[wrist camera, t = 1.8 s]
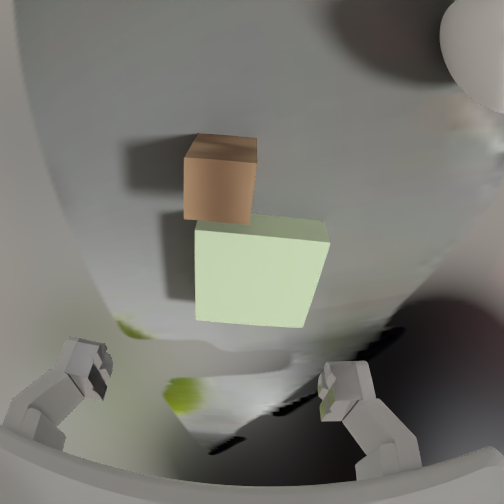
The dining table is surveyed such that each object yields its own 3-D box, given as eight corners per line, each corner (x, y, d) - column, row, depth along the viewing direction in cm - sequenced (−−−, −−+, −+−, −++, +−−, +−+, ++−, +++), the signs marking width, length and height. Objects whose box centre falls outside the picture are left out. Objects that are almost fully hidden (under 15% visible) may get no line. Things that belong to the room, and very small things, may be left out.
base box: (200, 294, 37) (196, 319, 34) (201, 206, 30) (194, 229, 27) (299, 302, 38) (302, 327, 35) (322, 219, 31) (330, 242, 28)
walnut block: (196, 185, 28) (183, 219, 24) (198, 133, 25) (184, 157, 21) (250, 189, 29) (249, 225, 24) (256, 138, 26) (257, 163, 21)
